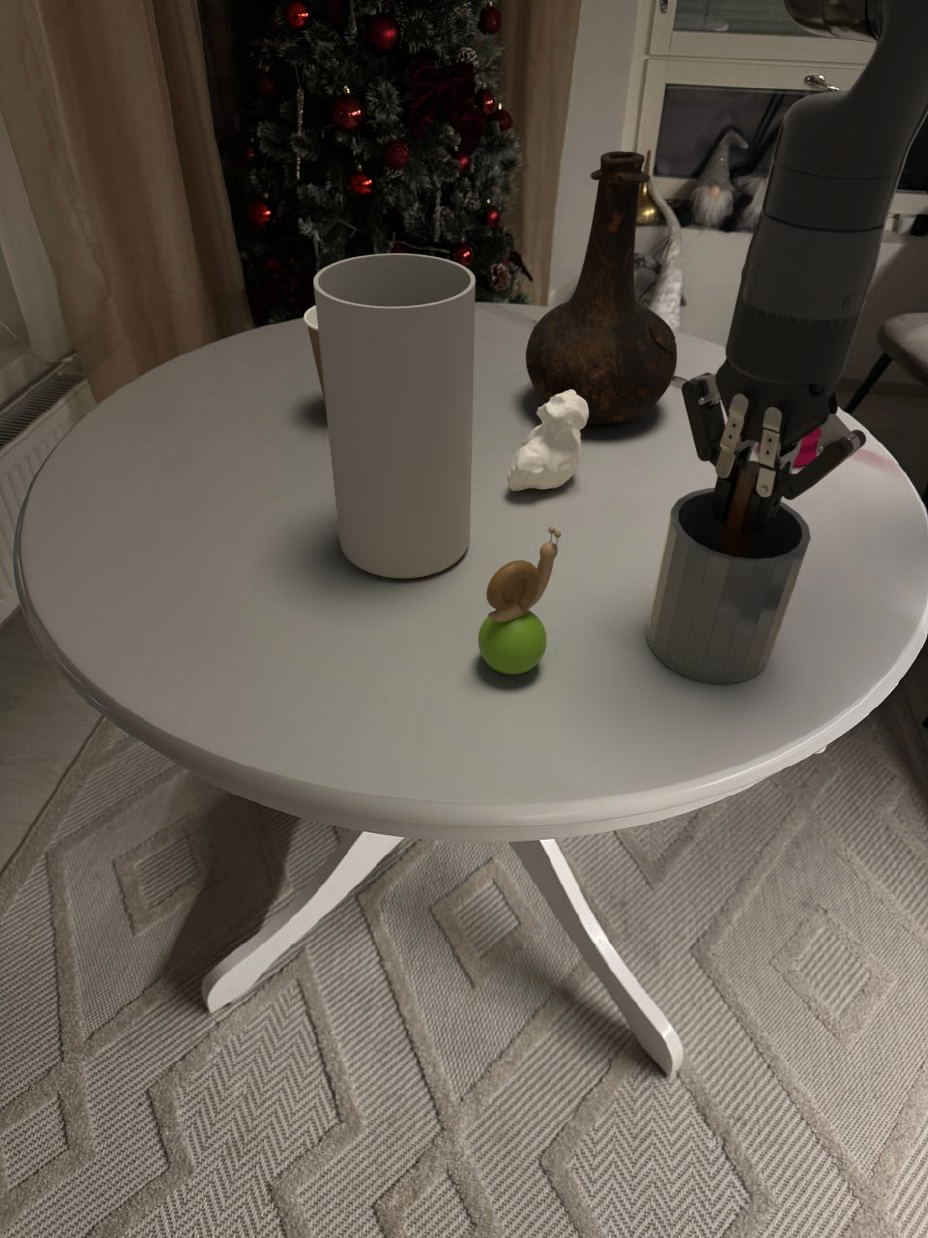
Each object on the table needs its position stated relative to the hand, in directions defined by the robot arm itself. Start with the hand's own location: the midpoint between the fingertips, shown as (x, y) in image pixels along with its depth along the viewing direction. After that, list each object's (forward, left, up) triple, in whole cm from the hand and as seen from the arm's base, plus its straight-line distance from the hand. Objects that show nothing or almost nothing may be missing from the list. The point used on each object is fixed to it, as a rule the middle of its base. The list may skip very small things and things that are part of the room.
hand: (738, 524), depth 64 cm
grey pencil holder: (0, 0, -12) cm, 12 cm away
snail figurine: (+14, -9, -12) cm, 21 cm away
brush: (0, 0, -11) cm, 11 cm away
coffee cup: (-3, -53, -12) cm, 54 cm away
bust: (-9, -27, -12) cm, 31 cm away
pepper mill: (-34, -13, -12) cm, 38 cm away
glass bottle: (-26, -35, -12) cm, 45 cm away
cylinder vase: (+10, -28, -12) cm, 32 cm away
